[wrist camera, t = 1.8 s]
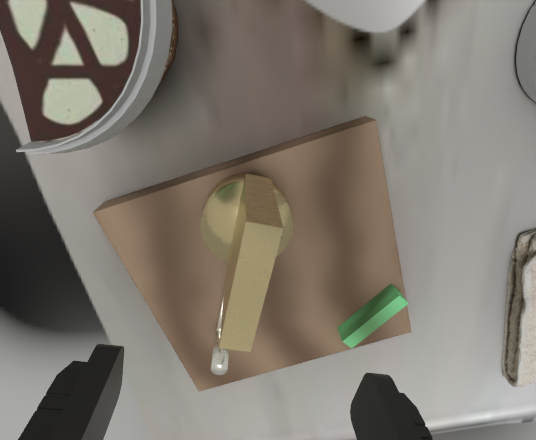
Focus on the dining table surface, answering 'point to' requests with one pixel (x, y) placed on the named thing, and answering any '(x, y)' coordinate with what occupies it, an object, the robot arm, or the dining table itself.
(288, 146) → the dial board
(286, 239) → the tan bar with dome
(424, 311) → the dining table surface
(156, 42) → the food container
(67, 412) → the robot arm
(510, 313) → the washcloth
